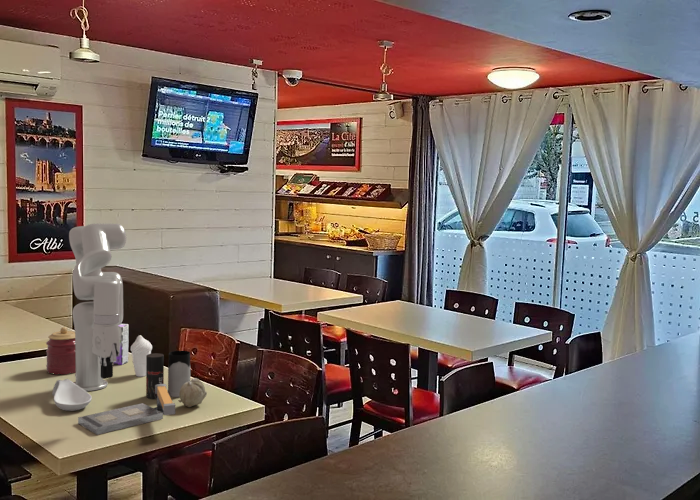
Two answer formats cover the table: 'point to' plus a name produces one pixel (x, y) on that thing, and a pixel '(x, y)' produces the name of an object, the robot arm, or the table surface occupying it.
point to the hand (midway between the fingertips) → (106, 377)
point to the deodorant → (154, 373)
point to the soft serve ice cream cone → (140, 355)
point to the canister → (61, 352)
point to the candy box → (123, 344)
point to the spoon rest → (70, 396)
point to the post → (159, 405)
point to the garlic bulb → (192, 393)
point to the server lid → (119, 418)
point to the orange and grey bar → (165, 399)
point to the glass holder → (178, 371)
